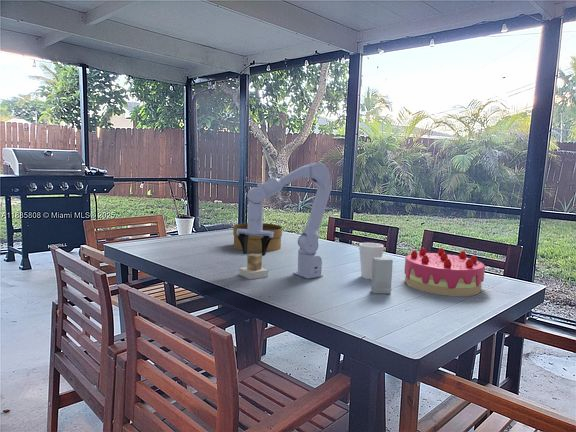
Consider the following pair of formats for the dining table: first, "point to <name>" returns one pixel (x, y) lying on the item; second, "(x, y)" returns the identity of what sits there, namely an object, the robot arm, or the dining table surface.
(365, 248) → the foam cup
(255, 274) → the tile block
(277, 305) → the dining table surface
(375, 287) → the skincare box
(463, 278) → the cake
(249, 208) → the robot arm
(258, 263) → the oak block
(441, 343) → the dining table surface
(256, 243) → the steamer basket
